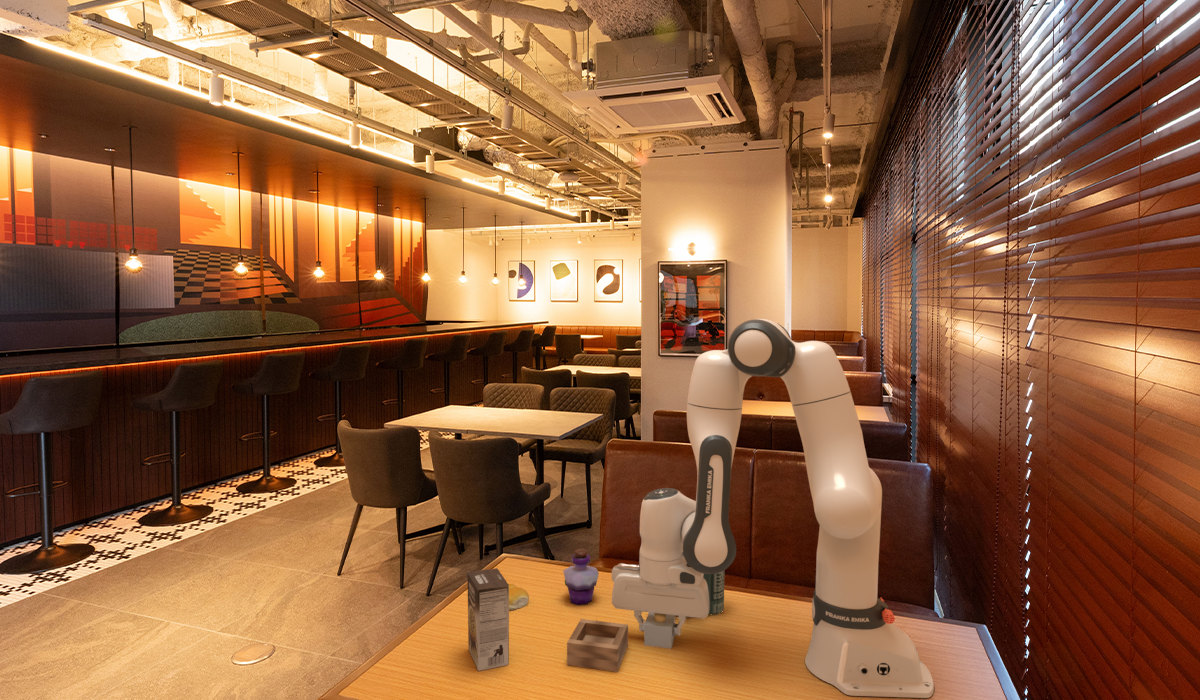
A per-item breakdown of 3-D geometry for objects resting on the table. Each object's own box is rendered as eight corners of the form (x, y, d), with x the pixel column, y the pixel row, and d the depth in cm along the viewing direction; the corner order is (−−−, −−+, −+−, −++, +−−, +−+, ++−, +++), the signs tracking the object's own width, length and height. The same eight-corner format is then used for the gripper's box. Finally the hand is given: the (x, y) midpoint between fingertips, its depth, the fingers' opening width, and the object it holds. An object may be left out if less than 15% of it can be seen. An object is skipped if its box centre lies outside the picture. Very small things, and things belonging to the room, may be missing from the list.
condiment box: (627, 645, 134) (628, 624, 134) (617, 672, 125) (617, 649, 124) (580, 639, 137) (580, 618, 136) (567, 665, 127) (567, 642, 127)
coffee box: (467, 649, 133) (466, 571, 132) (498, 643, 135) (497, 566, 134) (477, 672, 124) (476, 589, 123) (510, 665, 127) (509, 583, 126)
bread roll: (511, 591, 160) (511, 575, 160) (534, 603, 154) (534, 587, 154) (482, 602, 154) (482, 585, 154) (505, 615, 148) (505, 597, 148)
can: (706, 600, 155) (707, 538, 154) (728, 608, 151) (729, 545, 150) (691, 608, 151) (691, 545, 150) (713, 617, 147) (714, 552, 146)
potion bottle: (567, 590, 160) (567, 542, 160) (602, 594, 159) (602, 545, 158) (558, 606, 152) (558, 555, 151) (594, 610, 150) (595, 558, 149)
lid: (674, 635, 139) (675, 609, 138) (671, 649, 133) (671, 621, 133) (648, 632, 140) (648, 606, 140) (644, 645, 135) (644, 618, 134)
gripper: (608, 568, 135) (608, 633, 136) (708, 578, 130) (707, 645, 131) (614, 556, 141) (614, 619, 142) (710, 566, 136) (709, 630, 137)
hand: (660, 632), depth 137 cm, fingers closed on lid, 6 cm apart
